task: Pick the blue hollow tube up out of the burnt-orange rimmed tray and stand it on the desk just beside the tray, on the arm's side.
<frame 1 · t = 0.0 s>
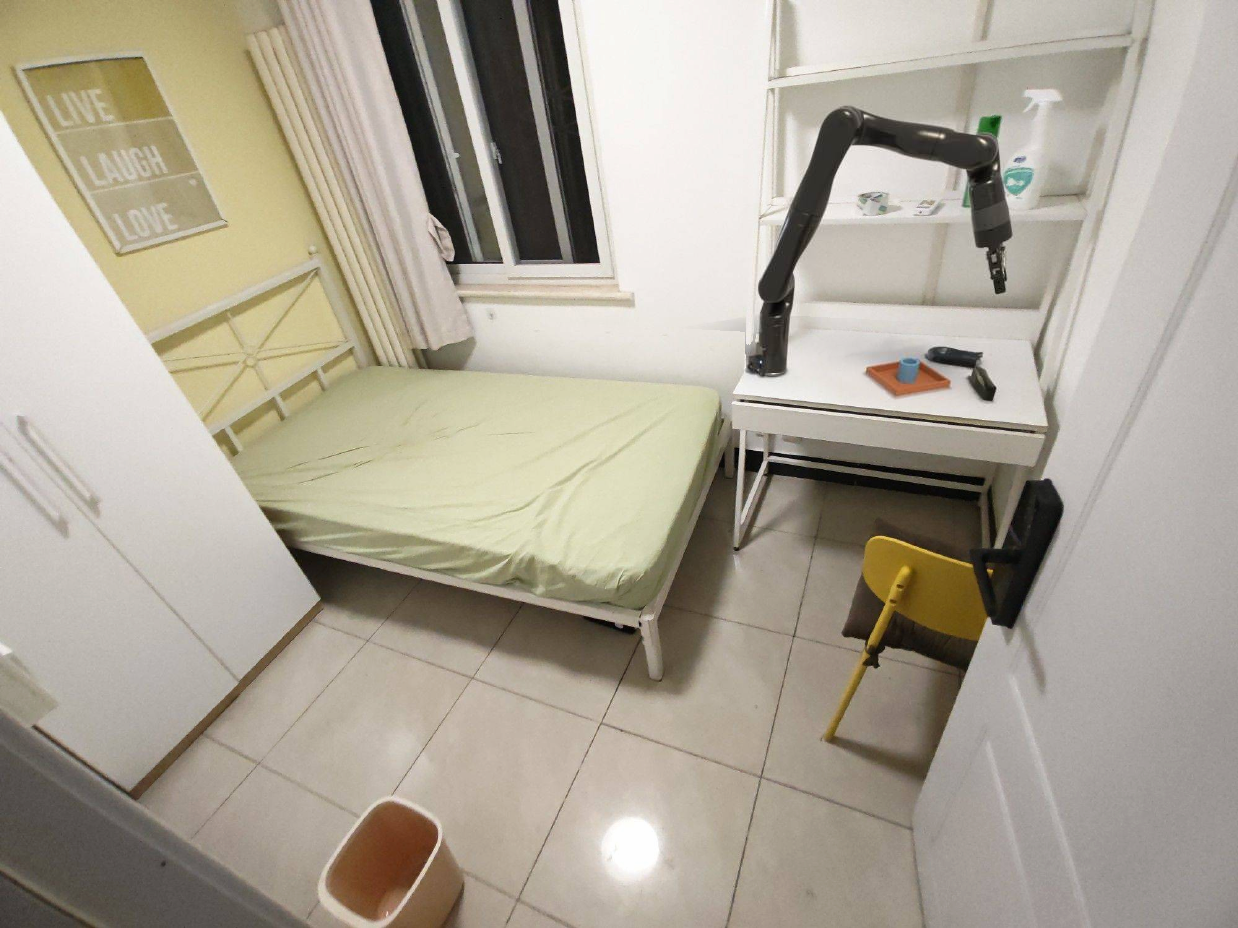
hand: (1001, 287, 140), 31 cm above the table, tool tilted 20°, fingers open, 8 cm apart
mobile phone: (979, 390, 161), on the table
electronic device: (952, 361, 177), on the table
tray: (905, 380, 169), on the table
blue hollow tube: (906, 379, 169), resting on tray
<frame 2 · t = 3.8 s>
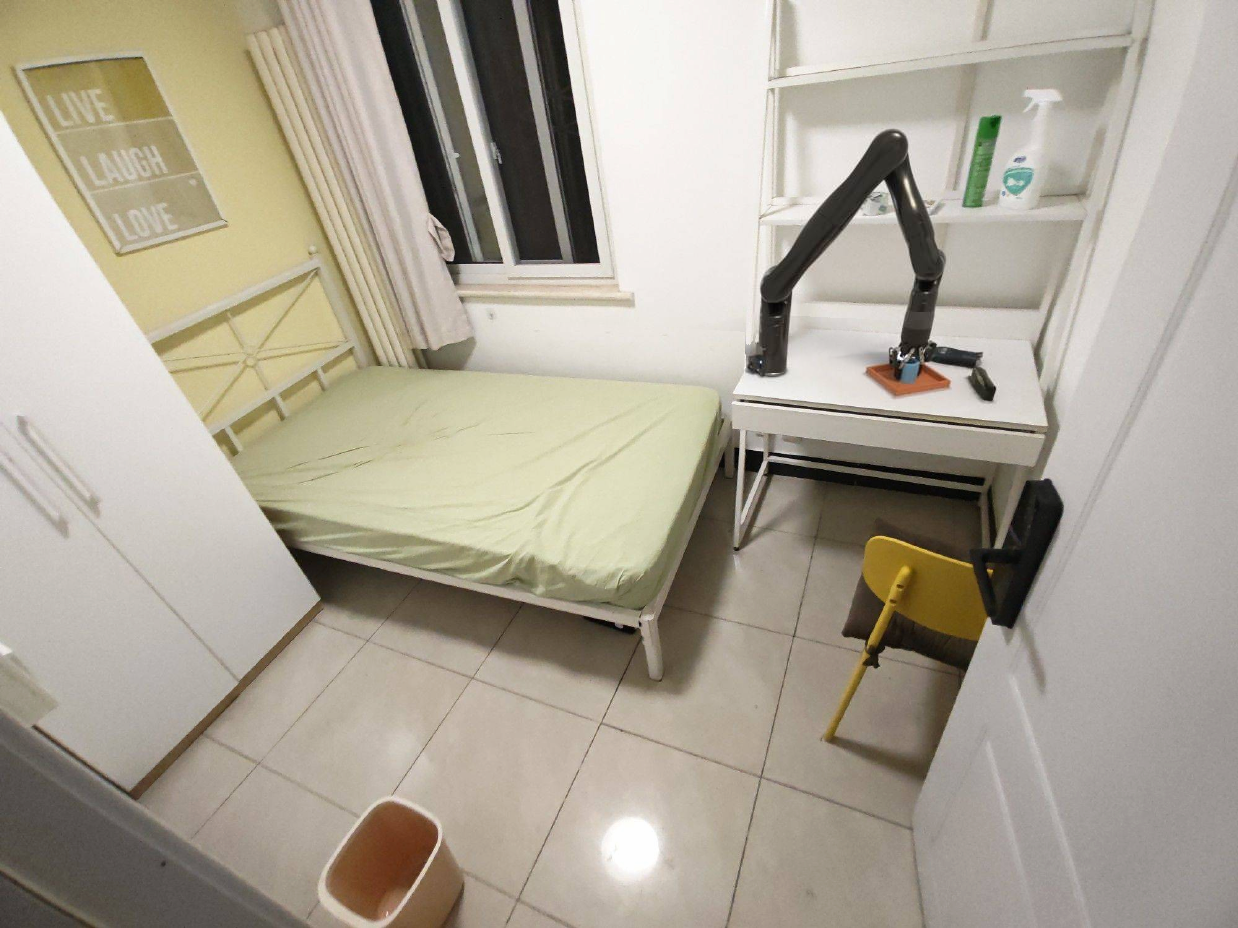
hand: (906, 377, 169), 1 cm above the table, tool pointing down, fingers closed on blue hollow tube, 5 cm apart
blue hollow tube: (906, 379, 169), resting on tray, touching gripper
everything else where it was.
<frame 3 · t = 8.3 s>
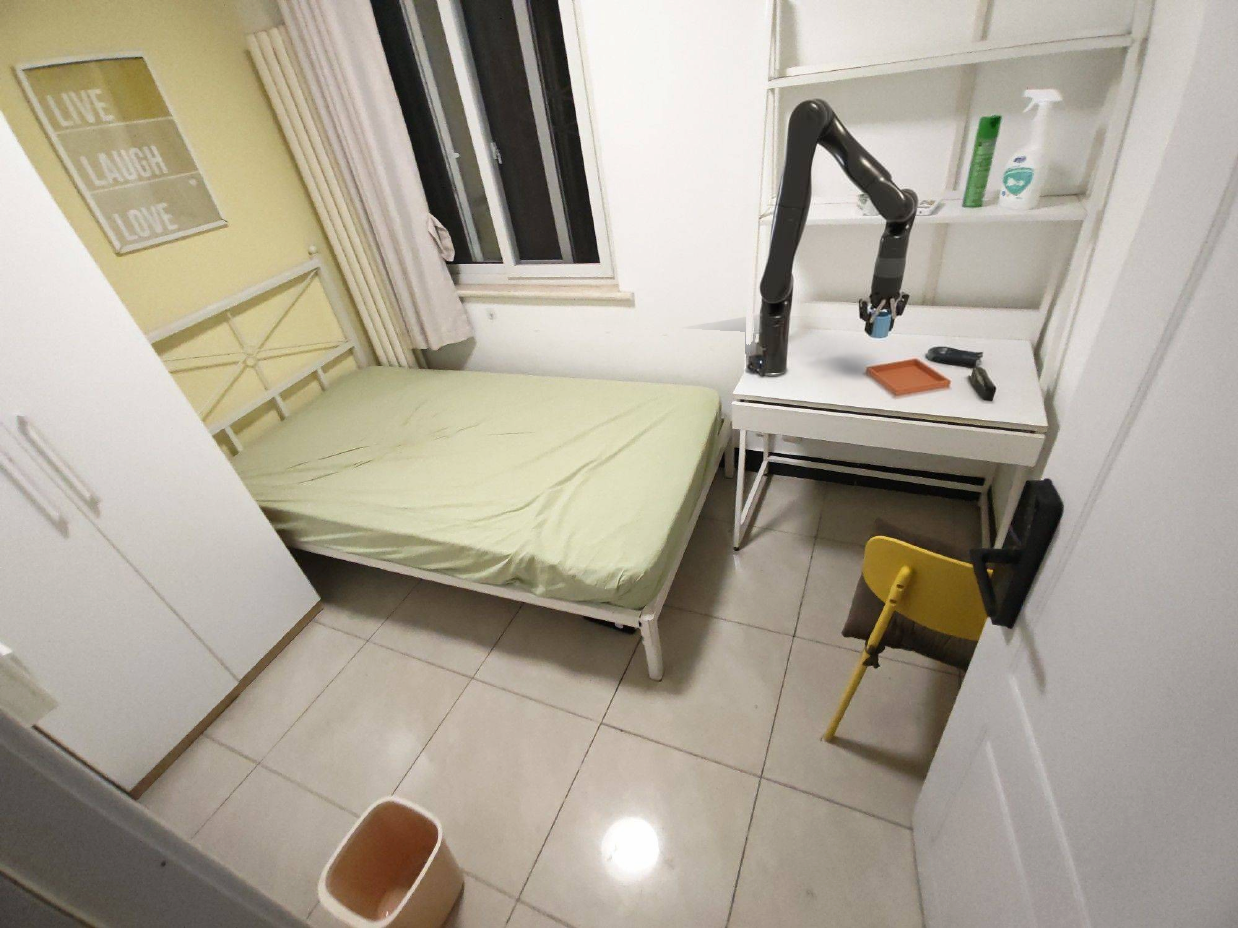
hand: (878, 332, 159), 17 cm above the table, tool pointing down, fingers closed on blue hollow tube, 5 cm apart
blue hollow tube: (877, 334, 160), point 16 cm above the table, touching gripper
everything else where it was.
when the fingers open (1 cm above the table, at t = 12.7 s): blue hollow tube stays where it is, on the table.
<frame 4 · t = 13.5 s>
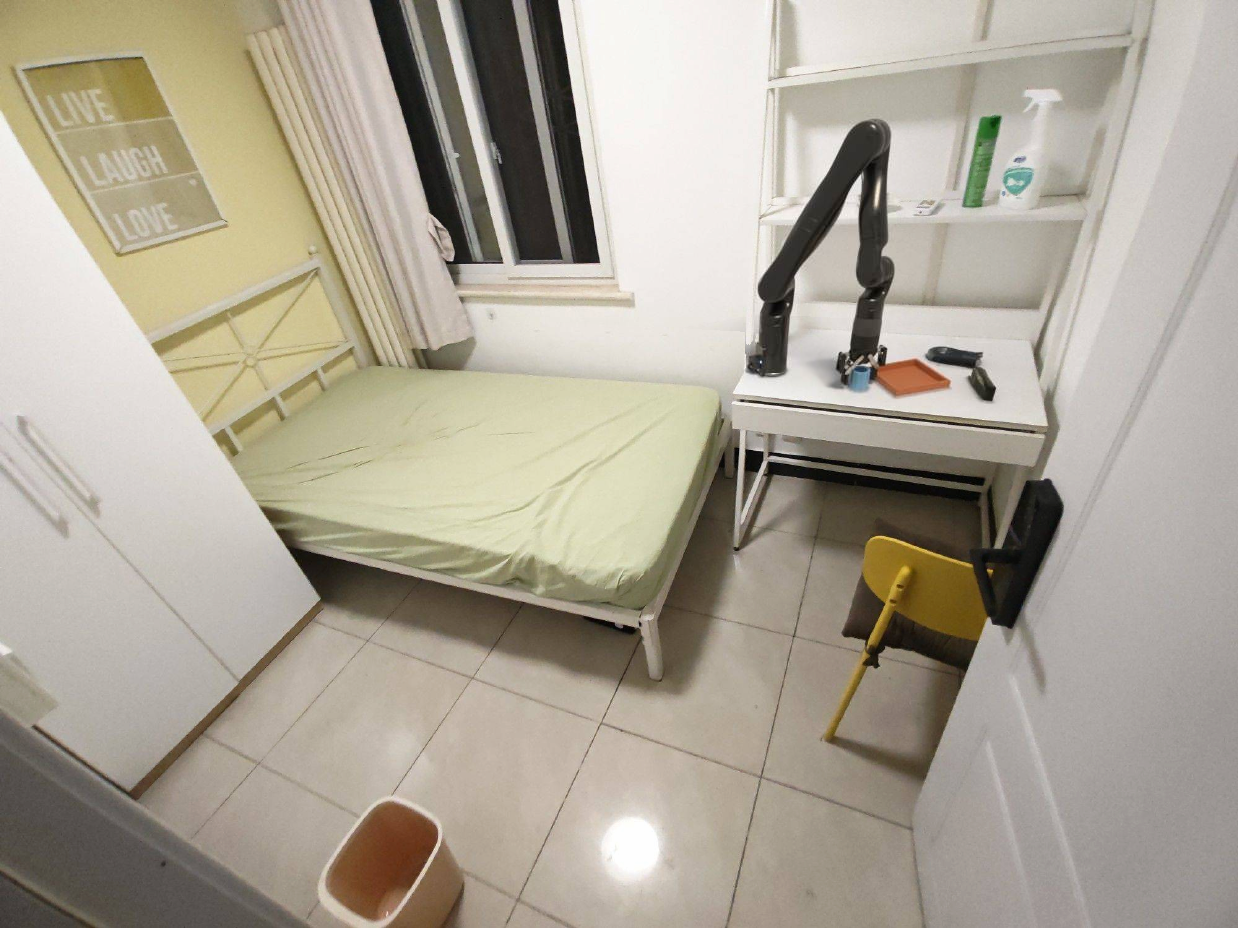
hand: (858, 381, 168), 2 cm above the table, tool pointing down, fingers open, 8 cm apart
blue hollow tube: (858, 387, 169), on the table
everything else where it was.
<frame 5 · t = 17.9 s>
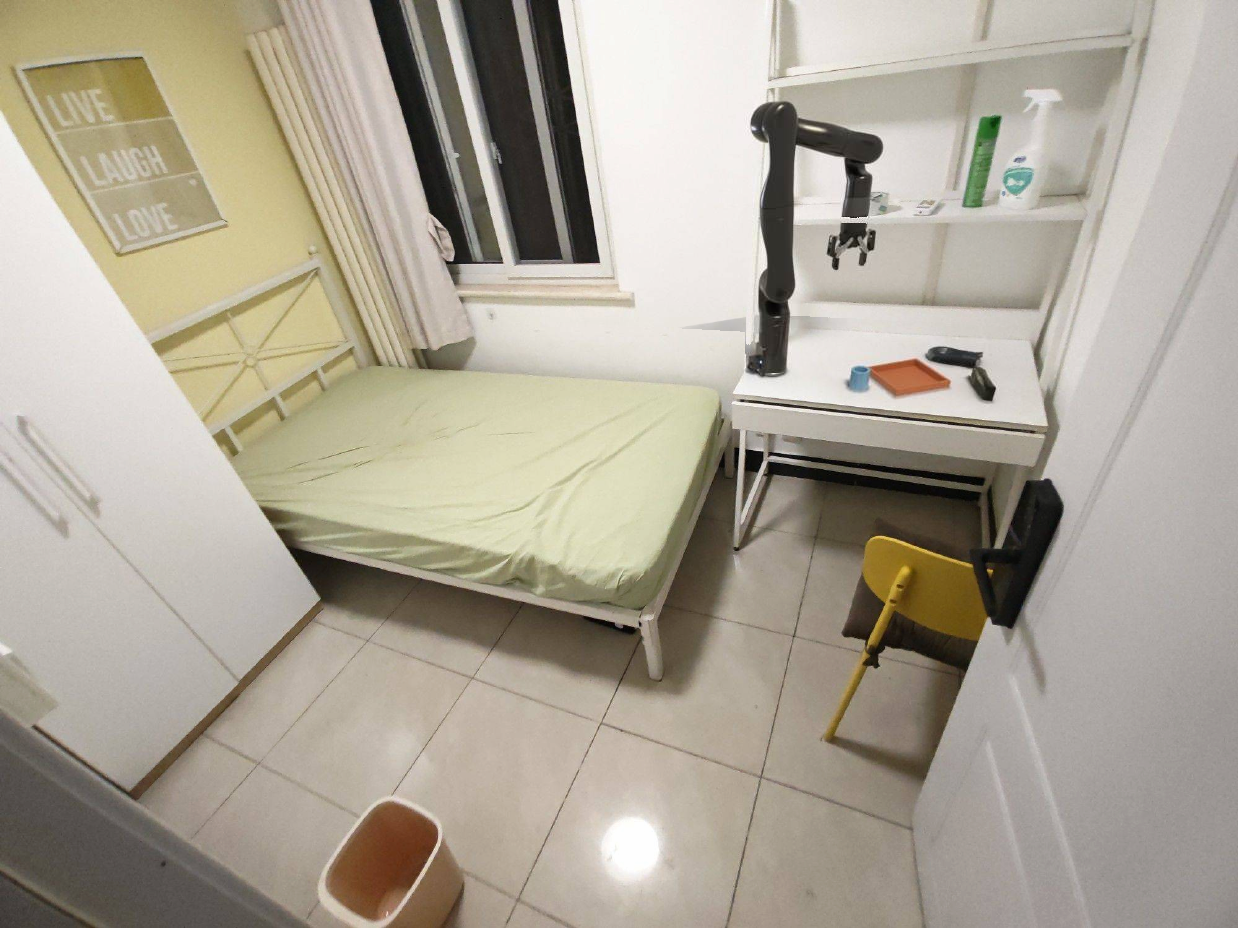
hand: (848, 267, 175), 28 cm above the table, tool pointing down, fingers open, 8 cm apart
nothing on the table moved.
at the end: blue hollow tube inside the target area (0.2 cm from its centre), on the table; blue hollow tube touching table; blue hollow tube tilted 0° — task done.
